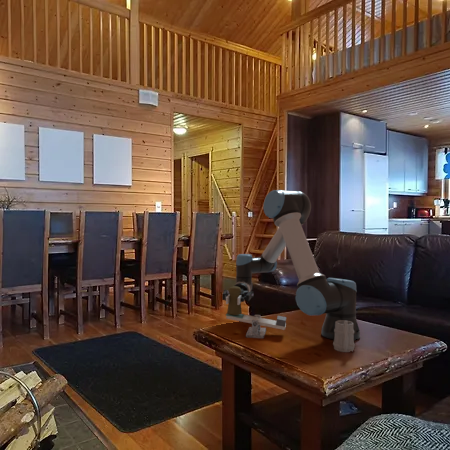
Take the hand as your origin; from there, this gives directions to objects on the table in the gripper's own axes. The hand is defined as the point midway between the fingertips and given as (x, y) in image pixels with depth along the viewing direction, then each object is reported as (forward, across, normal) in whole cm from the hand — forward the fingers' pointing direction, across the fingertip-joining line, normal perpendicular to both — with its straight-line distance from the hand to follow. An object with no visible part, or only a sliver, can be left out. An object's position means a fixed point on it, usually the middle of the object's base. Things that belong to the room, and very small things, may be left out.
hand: (232, 301), depth 170 cm
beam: (-5, -9, -9) cm, 14 cm away
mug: (+10, -43, -14) cm, 46 cm away
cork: (-5, 0, -6) cm, 8 cm away
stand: (-5, -9, -14) cm, 18 cm away
